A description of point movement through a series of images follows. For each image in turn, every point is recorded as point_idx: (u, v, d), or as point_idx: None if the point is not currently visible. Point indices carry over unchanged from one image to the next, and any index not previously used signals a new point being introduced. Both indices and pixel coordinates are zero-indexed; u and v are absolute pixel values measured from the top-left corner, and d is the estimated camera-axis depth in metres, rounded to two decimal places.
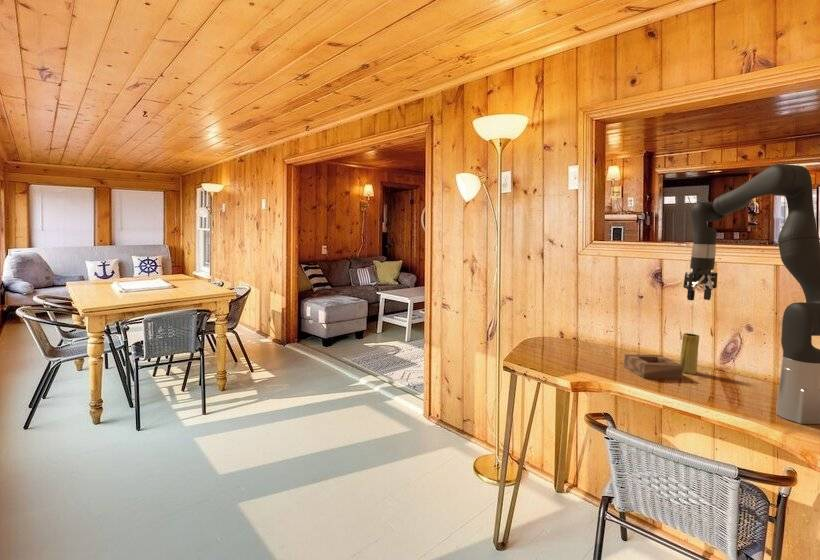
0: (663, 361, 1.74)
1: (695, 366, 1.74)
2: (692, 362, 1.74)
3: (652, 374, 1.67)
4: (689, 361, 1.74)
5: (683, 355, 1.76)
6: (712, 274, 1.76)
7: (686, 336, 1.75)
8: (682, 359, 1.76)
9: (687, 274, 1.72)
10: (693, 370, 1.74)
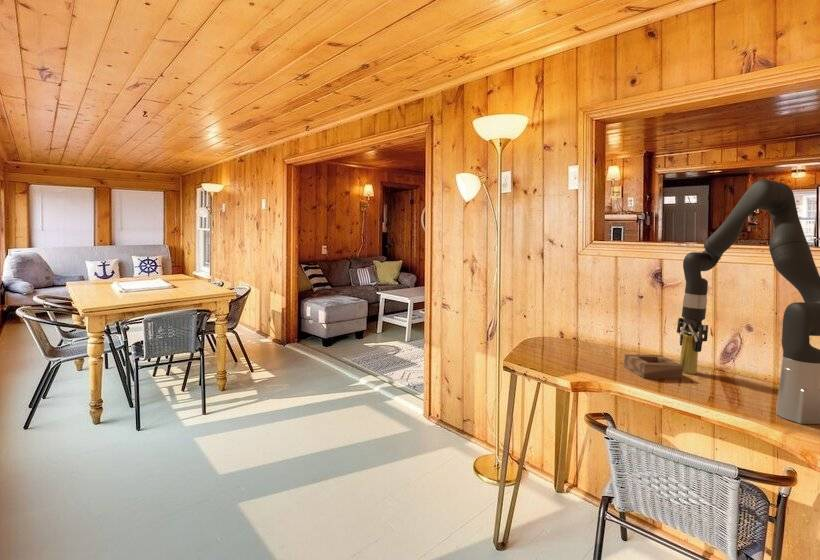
0: (663, 361, 1.74)
1: (695, 366, 1.74)
2: (692, 362, 1.74)
3: (652, 374, 1.67)
4: (689, 361, 1.74)
5: (683, 355, 1.76)
6: None
7: (686, 336, 1.75)
8: (682, 359, 1.76)
9: (704, 327, 1.68)
10: (693, 370, 1.74)
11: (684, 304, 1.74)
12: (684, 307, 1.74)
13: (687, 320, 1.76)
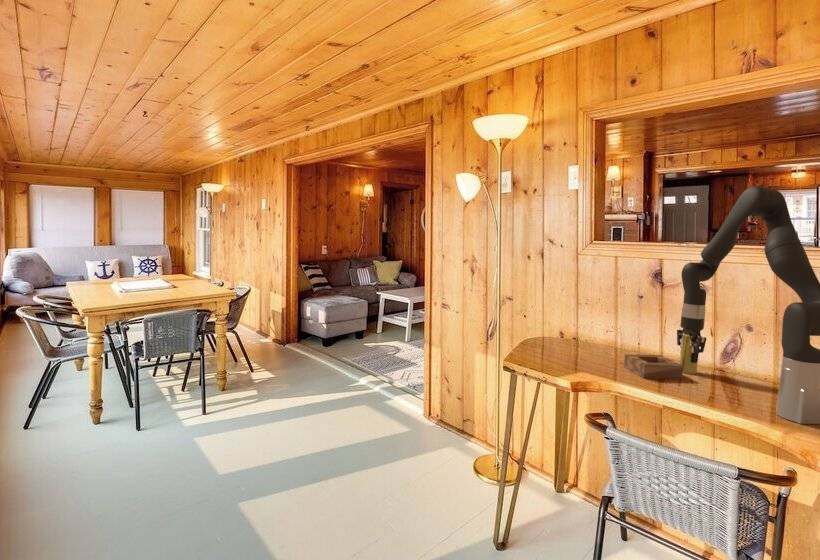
0: (663, 361, 1.74)
1: (695, 366, 1.74)
2: None
3: (652, 374, 1.67)
4: (689, 361, 1.74)
5: (683, 355, 1.76)
6: None
7: (686, 336, 1.75)
8: (682, 359, 1.76)
9: (702, 340, 1.69)
10: (693, 370, 1.74)
11: (683, 314, 1.75)
12: (683, 317, 1.74)
13: (686, 330, 1.77)
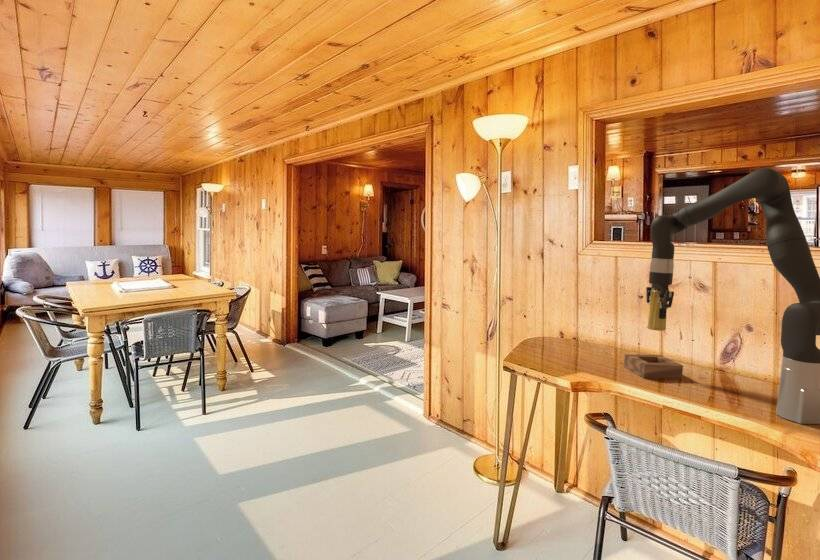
0: (663, 361, 1.74)
1: (664, 322, 1.70)
2: None
3: (652, 374, 1.67)
4: (657, 317, 1.70)
5: (651, 311, 1.71)
6: None
7: (654, 292, 1.70)
8: (650, 316, 1.71)
9: (669, 294, 1.64)
10: (661, 326, 1.70)
11: (651, 269, 1.70)
12: (651, 272, 1.70)
13: (654, 286, 1.72)
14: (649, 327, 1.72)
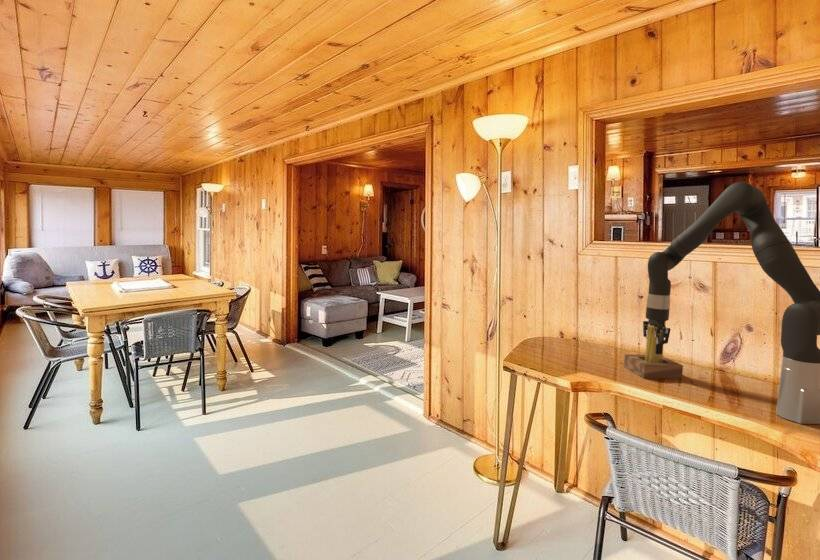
0: (663, 361, 1.74)
1: (660, 357, 1.71)
2: None
3: (652, 374, 1.67)
4: (654, 352, 1.71)
5: (648, 346, 1.73)
6: None
7: (651, 327, 1.71)
8: (647, 350, 1.73)
9: (666, 331, 1.66)
10: (658, 362, 1.71)
11: (647, 305, 1.72)
12: (648, 308, 1.71)
13: (651, 321, 1.74)
14: None
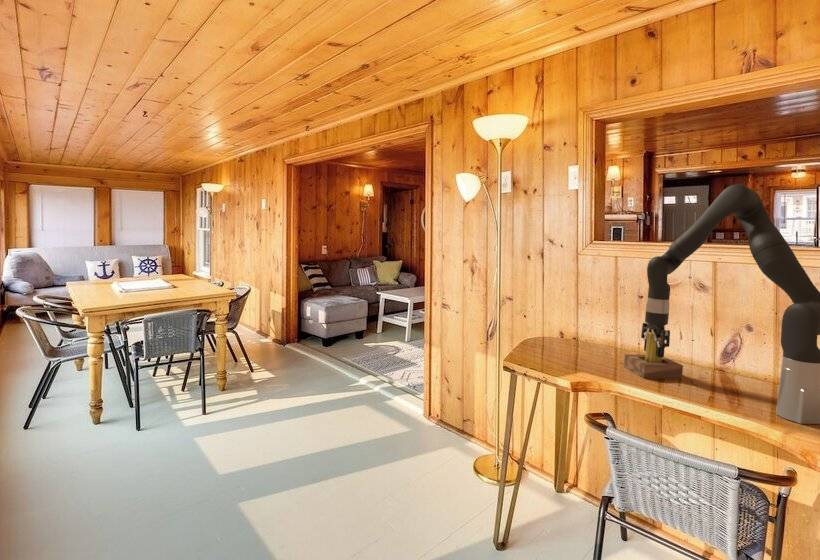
0: (663, 361, 1.74)
1: None
2: (656, 360, 1.71)
3: (652, 374, 1.67)
4: (653, 358, 1.71)
5: (648, 353, 1.73)
6: None
7: (650, 333, 1.72)
8: (647, 357, 1.73)
9: (666, 332, 1.66)
10: None
11: (647, 309, 1.72)
12: (647, 312, 1.71)
13: (650, 325, 1.74)
14: None
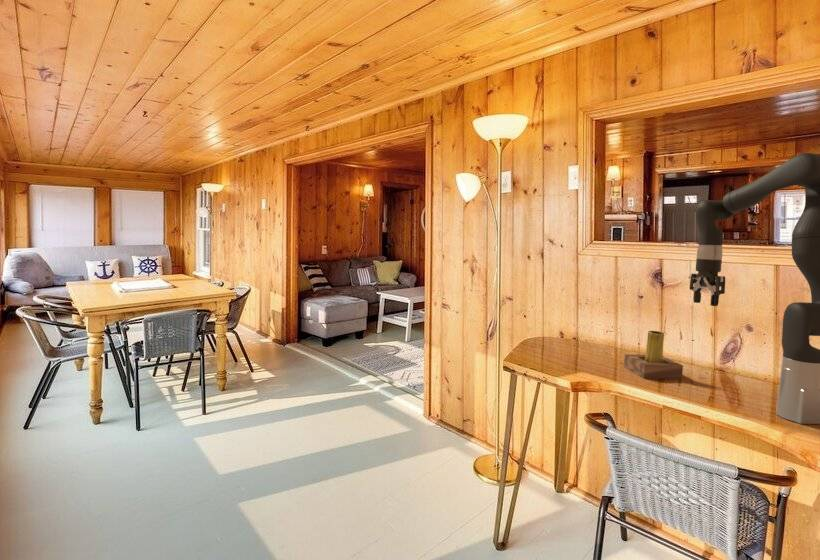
0: (663, 361, 1.74)
1: None
2: (656, 360, 1.71)
3: (652, 374, 1.67)
4: (654, 358, 1.71)
5: (648, 353, 1.73)
6: None
7: (651, 333, 1.71)
8: (647, 357, 1.73)
9: (721, 278, 1.58)
10: None
11: (698, 256, 1.64)
12: (699, 260, 1.64)
13: (701, 274, 1.66)
14: None
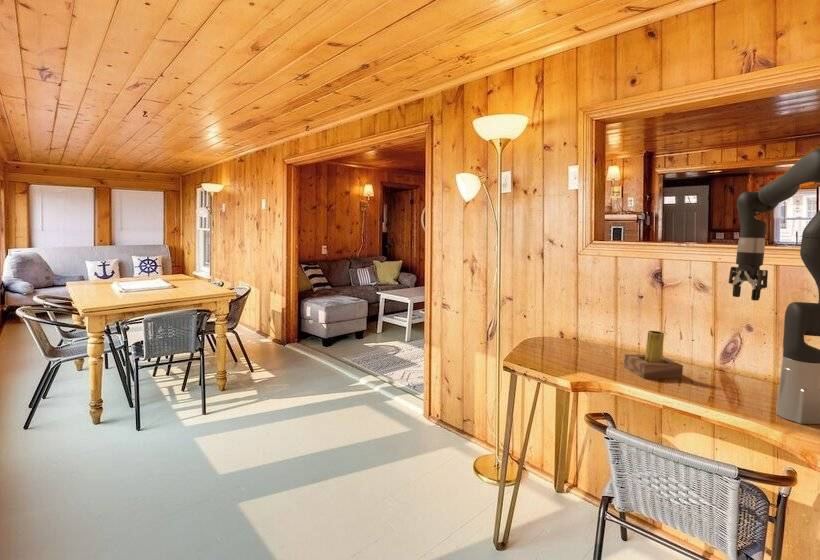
0: (663, 361, 1.74)
1: None
2: (656, 360, 1.71)
3: (652, 374, 1.67)
4: (653, 358, 1.71)
5: (648, 353, 1.73)
6: None
7: (650, 333, 1.72)
8: (647, 357, 1.73)
9: (763, 272, 1.54)
10: None
11: (739, 249, 1.60)
12: (740, 253, 1.59)
13: (742, 267, 1.62)
14: None
